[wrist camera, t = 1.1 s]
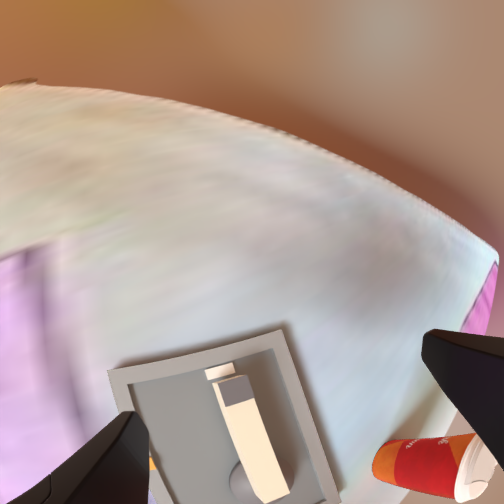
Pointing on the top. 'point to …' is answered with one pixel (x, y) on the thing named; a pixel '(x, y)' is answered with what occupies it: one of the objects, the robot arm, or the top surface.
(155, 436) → the board
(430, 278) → the top surface
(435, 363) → the robot arm
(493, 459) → the coffee cup
